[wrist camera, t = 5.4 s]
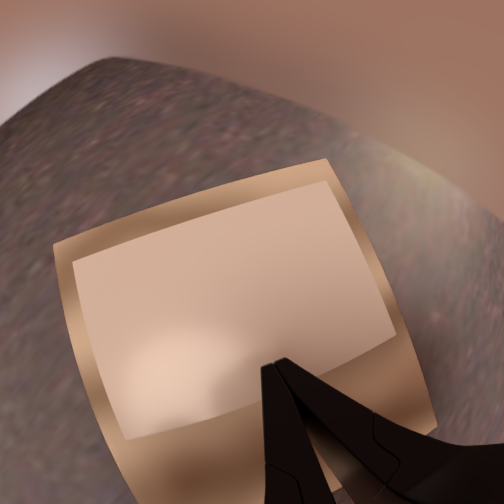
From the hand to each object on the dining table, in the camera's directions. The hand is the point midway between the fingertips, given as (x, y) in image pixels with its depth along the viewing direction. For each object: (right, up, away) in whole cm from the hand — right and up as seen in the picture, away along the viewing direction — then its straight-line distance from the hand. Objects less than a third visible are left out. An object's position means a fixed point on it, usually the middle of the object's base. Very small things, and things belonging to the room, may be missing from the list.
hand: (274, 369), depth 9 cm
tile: (0, -3, +4) cm, 5 cm away
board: (-1, -2, +6) cm, 7 cm away
